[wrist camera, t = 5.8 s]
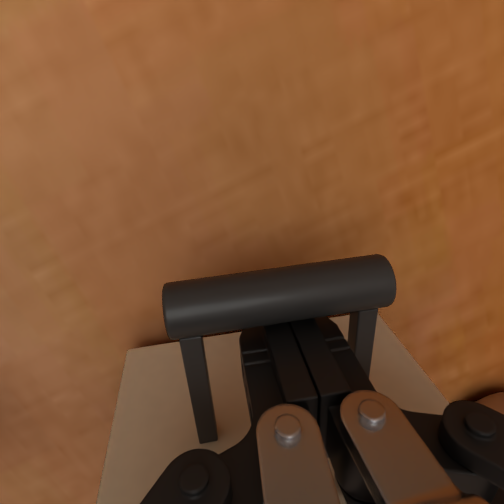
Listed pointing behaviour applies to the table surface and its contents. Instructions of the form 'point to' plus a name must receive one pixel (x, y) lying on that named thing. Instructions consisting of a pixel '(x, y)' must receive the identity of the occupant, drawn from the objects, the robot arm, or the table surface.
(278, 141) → the table surface
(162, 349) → the drawer
